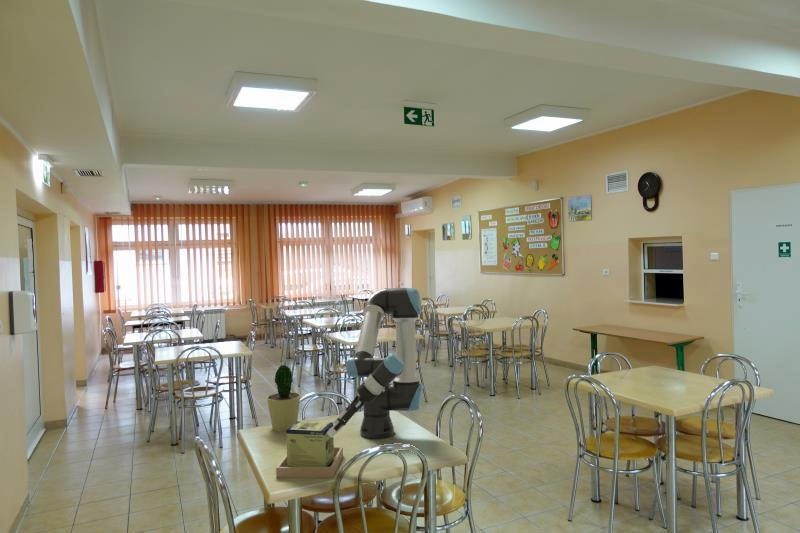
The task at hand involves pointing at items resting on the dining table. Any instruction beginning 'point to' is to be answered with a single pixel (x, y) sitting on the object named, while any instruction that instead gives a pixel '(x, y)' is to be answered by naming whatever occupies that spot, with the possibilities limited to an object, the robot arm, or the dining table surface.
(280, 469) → the tray
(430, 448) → the dining table surface
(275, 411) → the potted cactus
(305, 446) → the protein box
